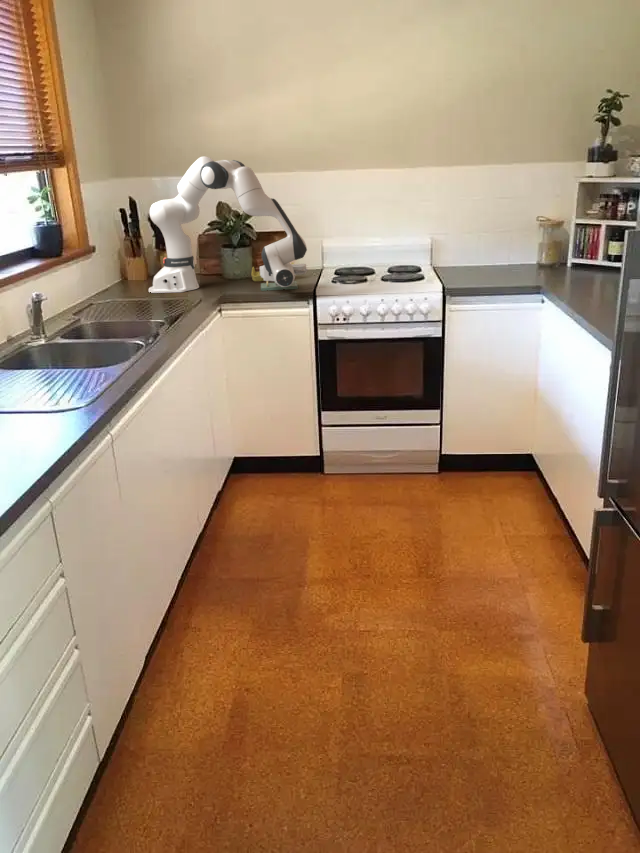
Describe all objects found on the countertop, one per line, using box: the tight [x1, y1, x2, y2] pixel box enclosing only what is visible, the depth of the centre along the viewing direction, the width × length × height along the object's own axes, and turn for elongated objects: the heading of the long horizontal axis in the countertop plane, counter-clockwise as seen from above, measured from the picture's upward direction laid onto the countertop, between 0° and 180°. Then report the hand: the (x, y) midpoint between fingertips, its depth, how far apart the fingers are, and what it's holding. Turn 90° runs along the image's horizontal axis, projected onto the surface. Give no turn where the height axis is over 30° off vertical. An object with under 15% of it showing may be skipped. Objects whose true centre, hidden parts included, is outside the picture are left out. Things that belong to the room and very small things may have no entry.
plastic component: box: [251, 261, 295, 282], centre depth 344 cm, size 20×7×10 cm
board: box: [260, 280, 299, 292], centre depth 323 cm, size 16×12×3 cm
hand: (282, 267), depth 321 cm, fingers closed on plug, 4 cm apart
